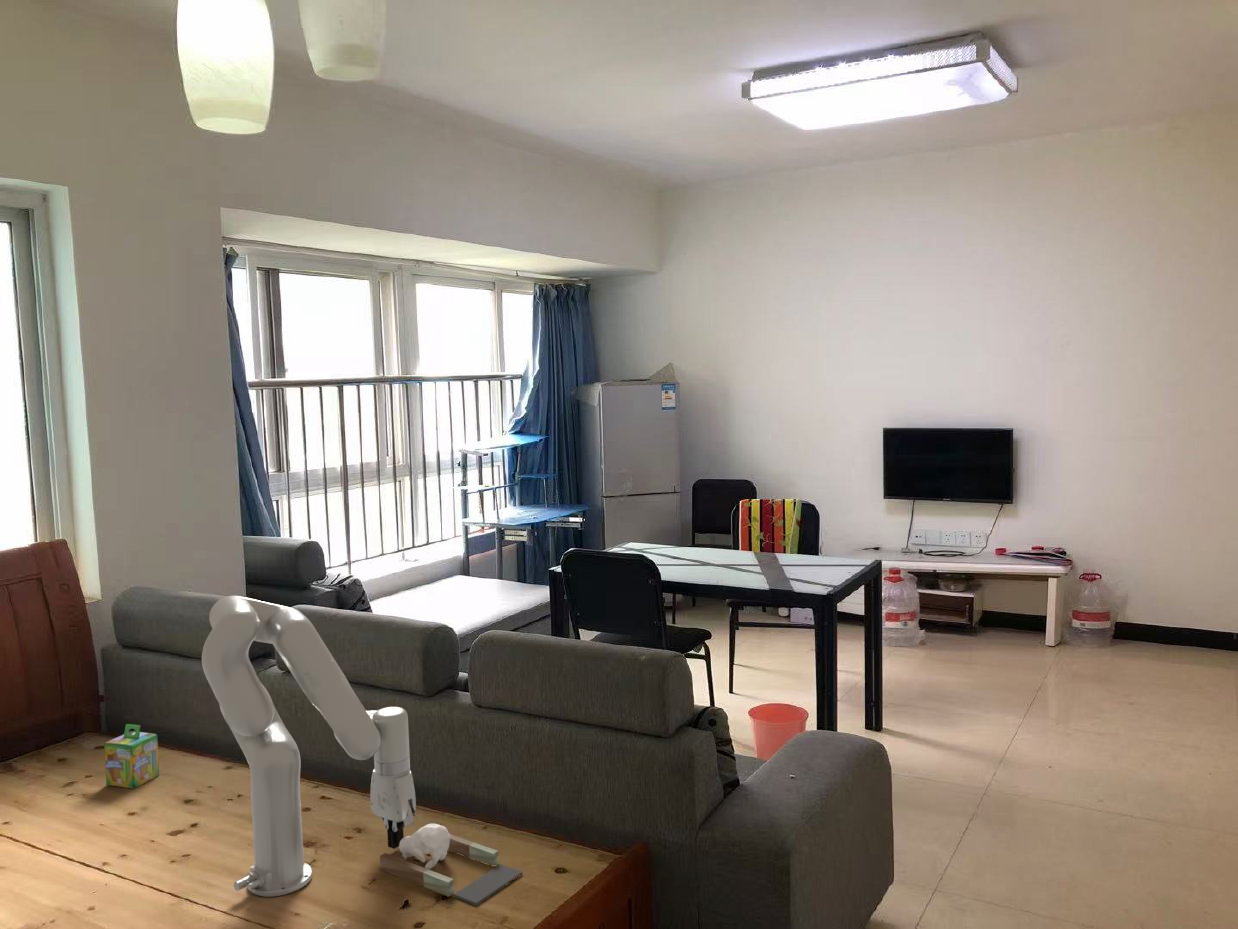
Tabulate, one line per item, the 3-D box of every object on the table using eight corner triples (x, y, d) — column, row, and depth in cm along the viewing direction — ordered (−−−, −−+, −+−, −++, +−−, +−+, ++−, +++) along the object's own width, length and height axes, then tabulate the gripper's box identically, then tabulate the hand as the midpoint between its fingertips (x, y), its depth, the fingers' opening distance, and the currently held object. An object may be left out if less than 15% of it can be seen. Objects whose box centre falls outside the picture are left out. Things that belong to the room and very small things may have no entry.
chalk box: (105, 786, 247) (101, 730, 246) (133, 772, 256) (129, 718, 254) (134, 790, 244) (130, 733, 243) (161, 775, 253) (157, 721, 252)
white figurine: (433, 833, 199) (388, 827, 204) (438, 873, 199) (393, 866, 204) (451, 820, 204) (407, 815, 210) (456, 859, 205) (412, 853, 210)
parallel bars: (448, 896, 190) (448, 882, 190) (380, 869, 201) (379, 856, 201) (498, 864, 202) (498, 851, 202) (431, 840, 214) (431, 827, 213)
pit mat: (476, 906, 187) (476, 903, 187) (454, 897, 190) (453, 894, 190) (522, 874, 198) (522, 871, 198) (500, 866, 201) (500, 864, 201)
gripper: (355, 763, 209) (359, 844, 211) (403, 778, 200) (407, 862, 202) (381, 752, 215) (385, 830, 217) (429, 766, 207) (432, 847, 208)
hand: (395, 845), depth 209 cm, fingers closed
